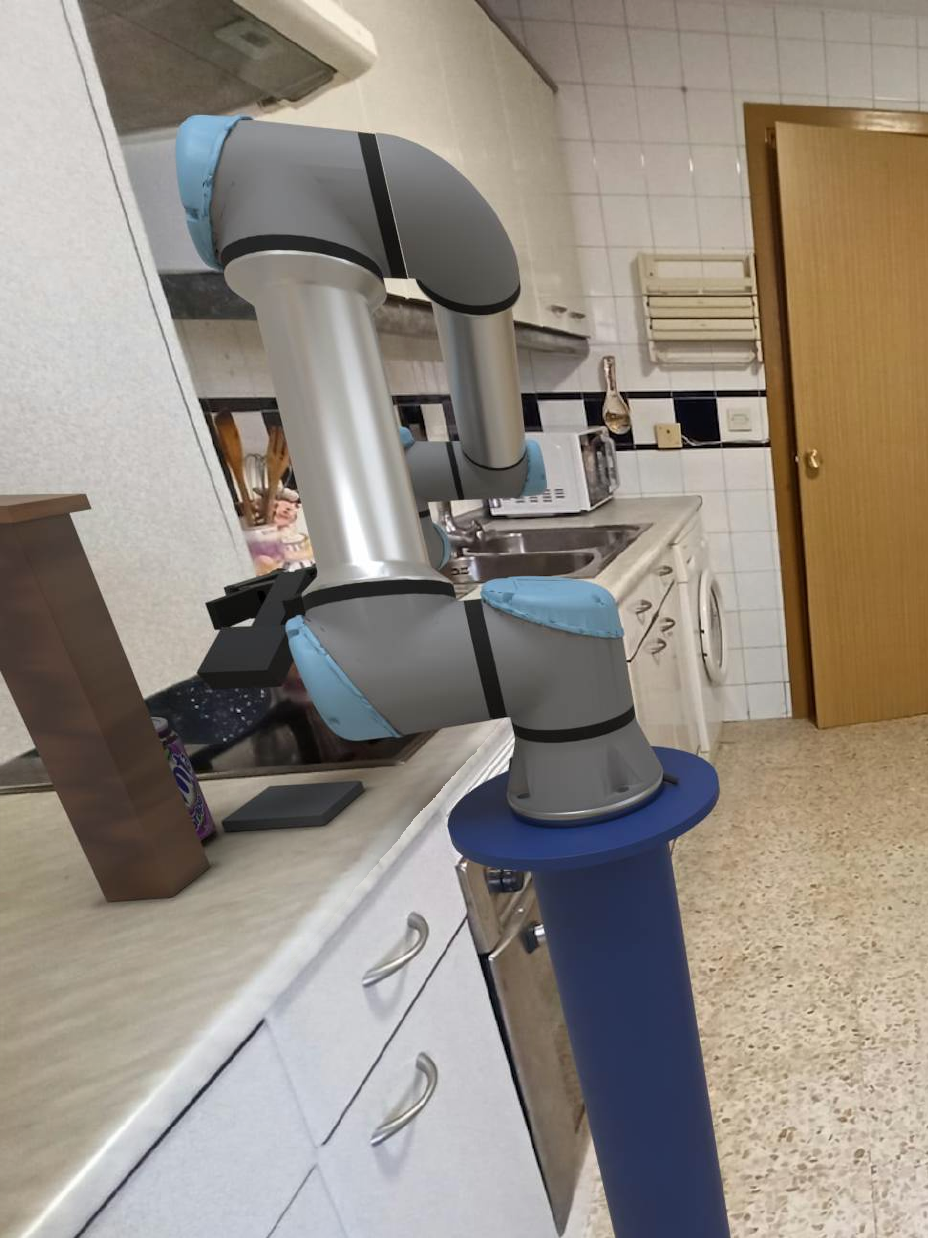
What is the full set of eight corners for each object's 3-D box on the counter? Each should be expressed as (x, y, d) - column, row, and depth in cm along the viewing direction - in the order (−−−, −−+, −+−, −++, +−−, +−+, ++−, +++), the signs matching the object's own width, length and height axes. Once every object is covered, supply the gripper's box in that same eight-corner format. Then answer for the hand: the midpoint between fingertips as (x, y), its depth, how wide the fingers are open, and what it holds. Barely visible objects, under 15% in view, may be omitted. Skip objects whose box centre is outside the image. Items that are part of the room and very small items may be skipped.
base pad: (364, 790, 92) (361, 780, 92) (324, 825, 85) (321, 814, 85) (273, 795, 91) (269, 785, 91) (224, 832, 84) (220, 821, 83)
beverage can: (135, 872, 77) (82, 751, 72) (107, 850, 80) (54, 734, 76) (230, 838, 83) (186, 724, 78) (200, 820, 86) (157, 709, 81)
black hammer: (331, 581, 91) (319, 563, 89) (282, 687, 82) (267, 669, 80) (269, 582, 90) (255, 564, 88) (212, 690, 81) (195, 672, 79)
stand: (227, 858, 79) (86, 493, 67) (174, 900, 73) (7, 505, 60) (155, 863, 78) (-3, 494, 66) (95, 906, 72) (-93, 507, 59)
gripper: (460, 594, 107) (368, 648, 86) (293, 599, 104) (157, 656, 83) (446, 534, 104) (347, 574, 83) (274, 537, 101) (127, 580, 80)
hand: (252, 615), depth 83 cm, fingers closed on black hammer, 6 cm apart
